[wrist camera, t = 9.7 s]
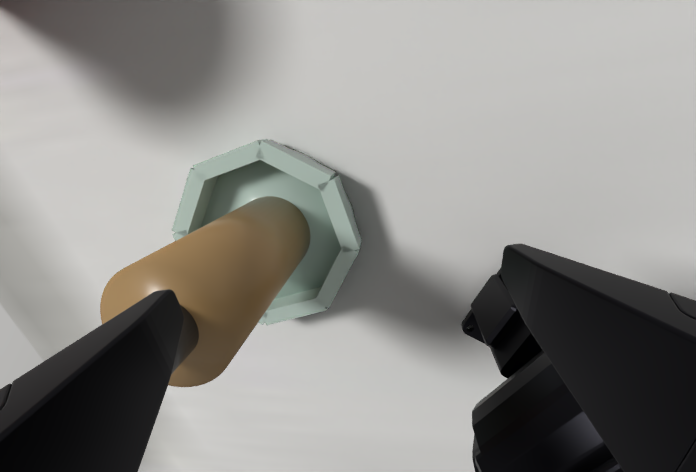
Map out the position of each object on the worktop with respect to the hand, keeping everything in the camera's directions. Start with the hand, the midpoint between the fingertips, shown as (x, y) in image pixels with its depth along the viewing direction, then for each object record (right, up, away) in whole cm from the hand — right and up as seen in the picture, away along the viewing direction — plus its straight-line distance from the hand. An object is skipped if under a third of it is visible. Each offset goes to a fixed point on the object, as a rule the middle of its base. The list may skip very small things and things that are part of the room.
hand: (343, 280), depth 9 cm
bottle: (-5, +1, +13) cm, 14 cm away
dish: (-5, +2, +14) cm, 15 cm away
